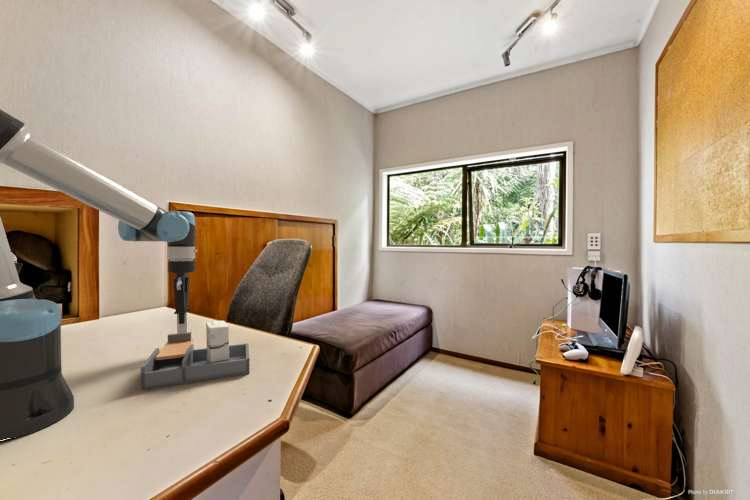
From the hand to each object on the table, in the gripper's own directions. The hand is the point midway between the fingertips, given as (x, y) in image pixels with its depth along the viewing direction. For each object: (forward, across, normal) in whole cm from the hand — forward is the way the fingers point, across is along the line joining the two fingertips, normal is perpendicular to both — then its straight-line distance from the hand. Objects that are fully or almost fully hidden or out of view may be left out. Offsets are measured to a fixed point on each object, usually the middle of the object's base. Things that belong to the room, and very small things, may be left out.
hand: (182, 332), depth 99 cm
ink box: (+5, -19, -11) cm, 23 cm away
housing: (+6, -19, -7) cm, 21 cm away
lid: (+2, -11, 0) cm, 11 cm away
